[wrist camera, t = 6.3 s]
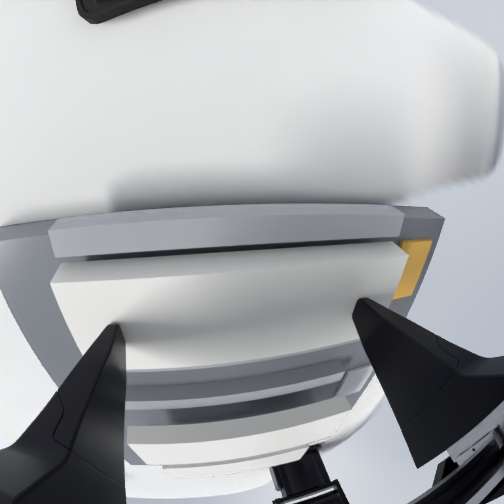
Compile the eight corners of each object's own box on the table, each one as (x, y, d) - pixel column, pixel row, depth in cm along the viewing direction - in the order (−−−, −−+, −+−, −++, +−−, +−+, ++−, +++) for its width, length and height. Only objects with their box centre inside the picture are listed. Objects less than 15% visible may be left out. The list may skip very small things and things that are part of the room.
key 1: (305, 436, 21) (309, 446, 20) (296, 450, 23) (299, 459, 22) (161, 456, 18) (162, 468, 17) (170, 468, 20) (172, 478, 19)
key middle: (344, 394, 15) (352, 409, 14) (326, 423, 17) (331, 436, 16) (127, 425, 12) (127, 443, 11) (146, 449, 14) (147, 464, 13)
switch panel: (429, 197, 13) (460, 216, 11) (324, 428, 27) (331, 445, 24) (-5, 215, 8) (-34, 242, 6) (131, 454, 22) (132, 473, 20)
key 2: (392, 241, 11) (409, 255, 10) (365, 318, 13) (376, 333, 12) (61, 262, 8) (49, 283, 7) (94, 348, 10) (90, 369, 9)
